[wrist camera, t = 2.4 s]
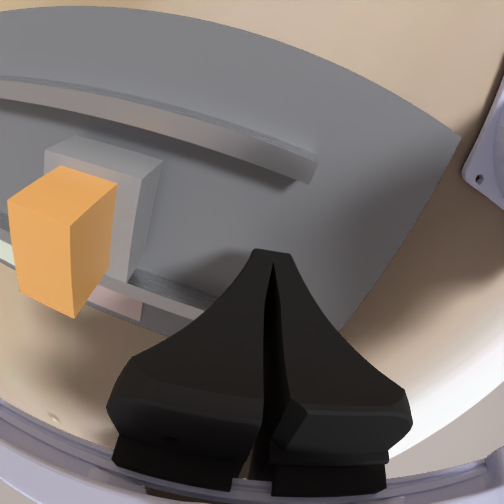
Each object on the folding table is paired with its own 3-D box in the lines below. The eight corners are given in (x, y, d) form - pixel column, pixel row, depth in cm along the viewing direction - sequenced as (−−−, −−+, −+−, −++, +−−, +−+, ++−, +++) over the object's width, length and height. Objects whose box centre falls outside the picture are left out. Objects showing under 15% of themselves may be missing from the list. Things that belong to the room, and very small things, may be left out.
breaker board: (439, 126, 11) (477, 145, 8) (302, 349, 19) (303, 391, 16) (15, 13, 8) (-27, 14, 6) (2, 238, 16) (-25, 264, 14)
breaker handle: (163, 160, 11) (97, 221, 7) (144, 254, 13) (96, 335, 9) (75, 135, 10) (-11, 181, 6) (68, 226, 13) (7, 291, 9)
